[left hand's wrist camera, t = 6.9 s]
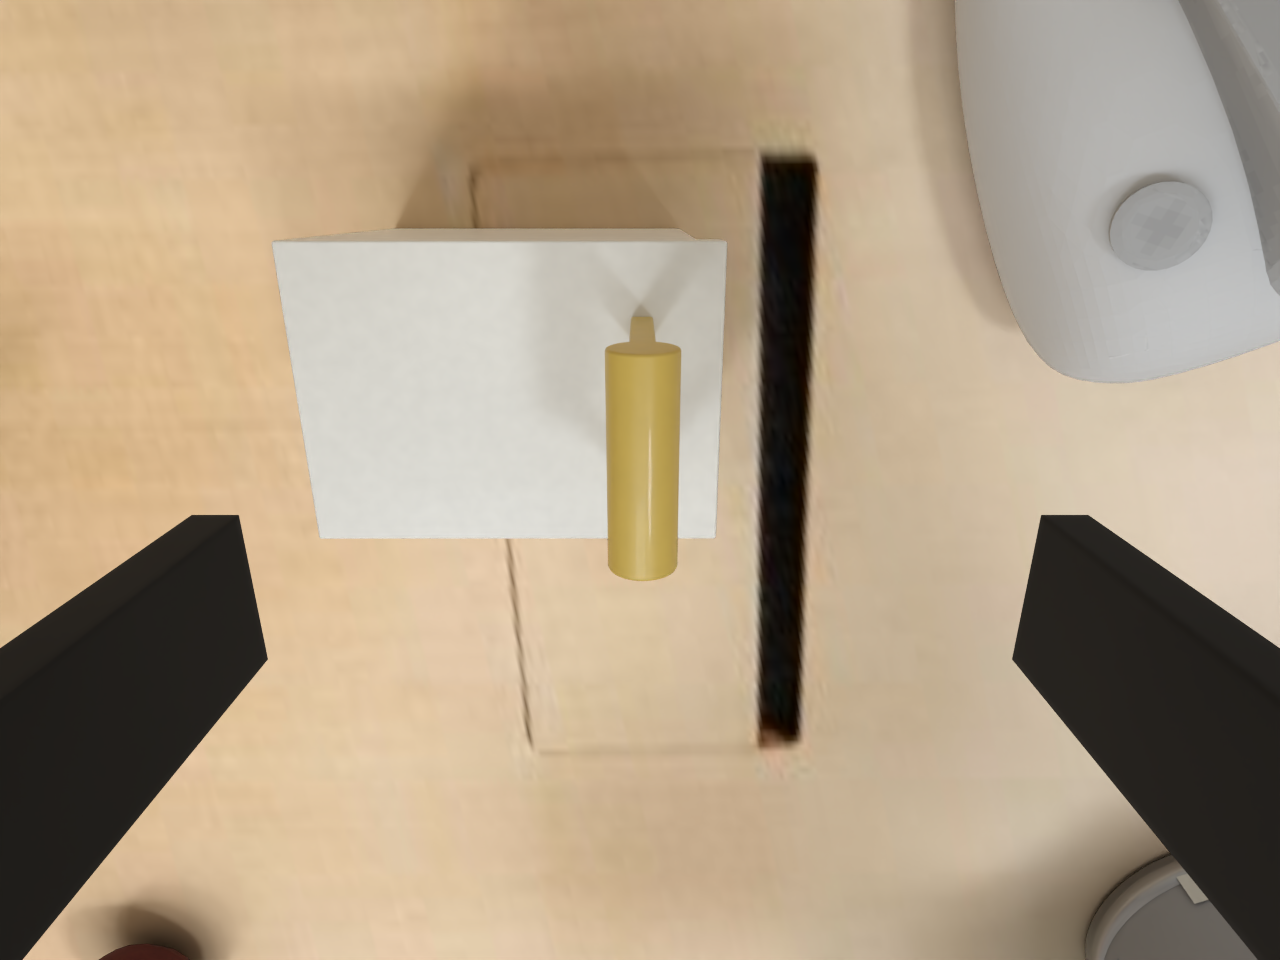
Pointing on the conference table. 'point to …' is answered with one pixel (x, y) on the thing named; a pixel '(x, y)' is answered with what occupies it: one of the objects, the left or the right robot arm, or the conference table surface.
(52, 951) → the conference table surface
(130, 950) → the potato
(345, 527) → the lid
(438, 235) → the chest
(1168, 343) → the projector
